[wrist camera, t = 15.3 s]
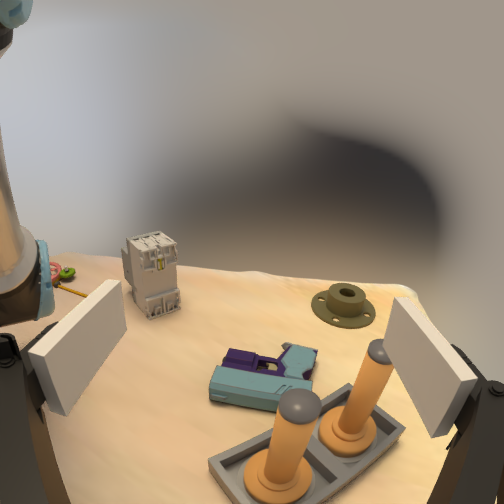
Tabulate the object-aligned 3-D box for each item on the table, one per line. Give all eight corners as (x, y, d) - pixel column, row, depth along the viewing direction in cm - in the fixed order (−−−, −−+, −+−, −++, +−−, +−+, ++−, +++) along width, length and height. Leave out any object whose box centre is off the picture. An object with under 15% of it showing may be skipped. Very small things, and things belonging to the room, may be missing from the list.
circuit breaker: (152, 280, 75) (147, 222, 68) (180, 308, 65) (177, 243, 59) (124, 289, 70) (116, 229, 64) (149, 320, 60) (141, 252, 54)
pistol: (314, 357, 55) (311, 421, 41) (231, 344, 57) (208, 404, 43) (319, 340, 53) (316, 404, 39) (232, 327, 55) (207, 386, 41)
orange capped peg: (344, 467, 32) (391, 387, 25) (305, 431, 38) (333, 344, 31) (382, 436, 36) (430, 352, 29) (345, 405, 42) (377, 319, 35)
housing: (263, 539, 23) (266, 534, 22) (208, 470, 32) (207, 458, 31) (396, 440, 36) (406, 427, 35) (342, 396, 45) (348, 382, 44)
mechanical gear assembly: (37, 262, 78) (3, 286, 65) (34, 249, 76) (-2, 273, 63) (109, 284, 72) (71, 317, 59) (106, 269, 70) (66, 302, 57)
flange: (327, 270, 76) (303, 296, 64) (385, 288, 69) (371, 320, 58) (324, 286, 78) (300, 315, 66) (380, 304, 71) (365, 338, 59)
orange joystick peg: (268, 518, 25) (293, 460, 19) (230, 472, 31) (233, 392, 24) (321, 485, 30) (365, 410, 23) (282, 445, 36) (305, 359, 29)
